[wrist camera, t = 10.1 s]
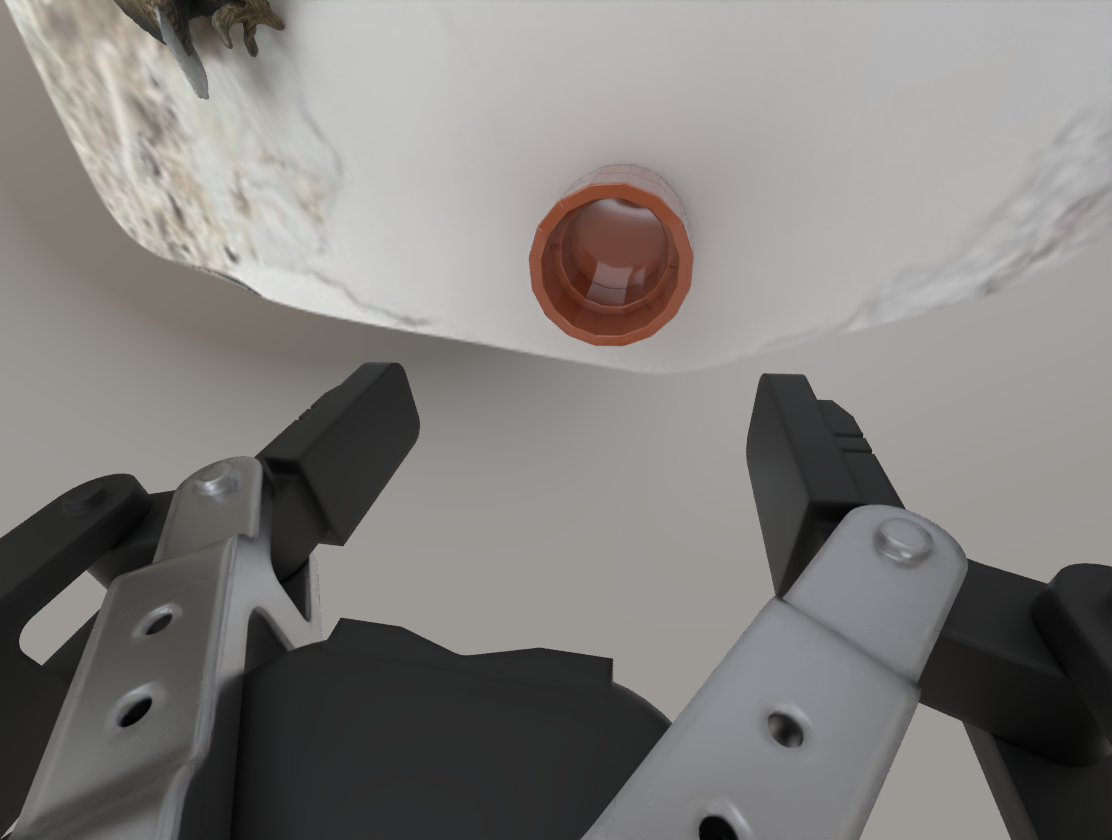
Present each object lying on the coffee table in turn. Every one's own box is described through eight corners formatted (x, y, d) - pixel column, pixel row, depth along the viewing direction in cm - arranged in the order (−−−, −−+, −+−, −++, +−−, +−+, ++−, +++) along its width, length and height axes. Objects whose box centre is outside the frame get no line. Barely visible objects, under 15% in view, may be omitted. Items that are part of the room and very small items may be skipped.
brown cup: (693, 159, 19) (700, 178, 15) (681, 301, 23) (684, 347, 19) (548, 167, 20) (520, 187, 16) (558, 302, 24) (537, 345, 20)
